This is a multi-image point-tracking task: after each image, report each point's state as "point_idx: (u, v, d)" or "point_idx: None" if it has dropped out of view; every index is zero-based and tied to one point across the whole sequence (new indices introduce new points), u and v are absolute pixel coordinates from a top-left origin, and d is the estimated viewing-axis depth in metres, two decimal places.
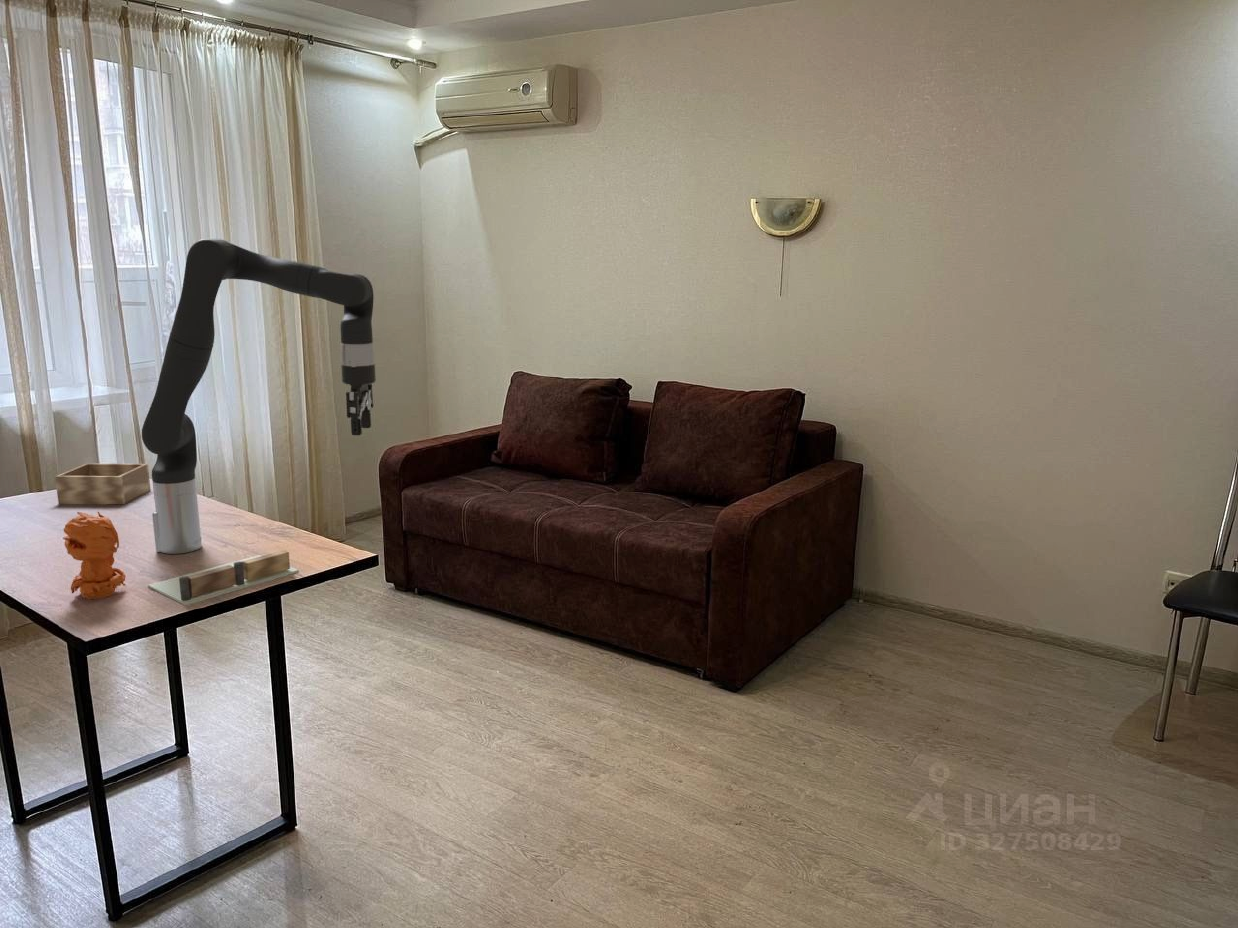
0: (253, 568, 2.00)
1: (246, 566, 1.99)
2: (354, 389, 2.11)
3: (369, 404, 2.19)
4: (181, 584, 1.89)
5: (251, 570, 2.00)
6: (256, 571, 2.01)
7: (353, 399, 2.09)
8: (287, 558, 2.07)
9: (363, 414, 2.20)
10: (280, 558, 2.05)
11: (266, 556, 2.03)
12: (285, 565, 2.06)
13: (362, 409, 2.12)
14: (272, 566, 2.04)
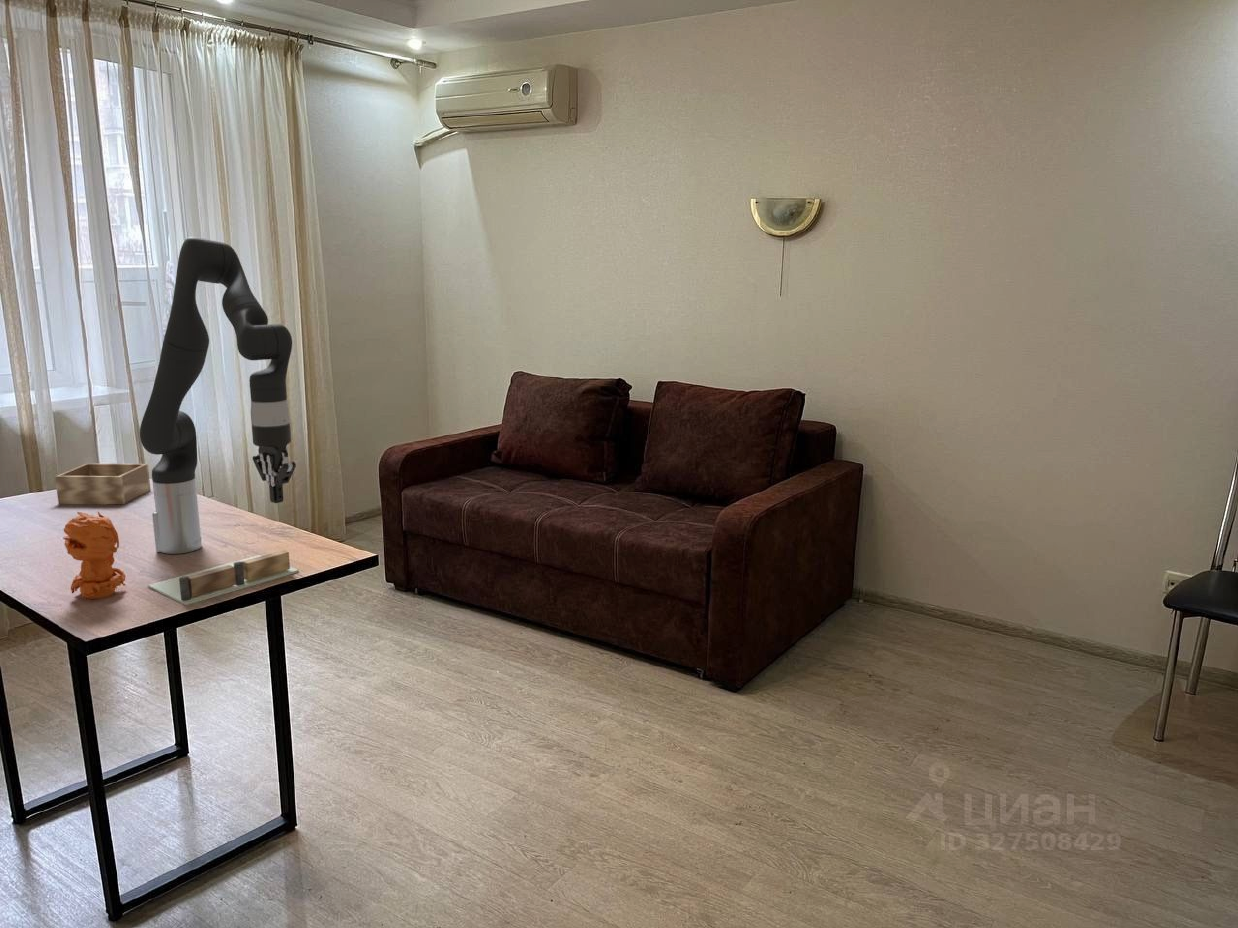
0: (253, 568, 2.00)
1: (246, 566, 1.99)
2: None
3: None
4: (181, 584, 1.89)
5: (251, 570, 2.00)
6: (256, 571, 2.01)
7: None
8: (287, 558, 2.07)
9: None
10: (280, 558, 2.05)
11: (266, 556, 2.03)
12: (285, 565, 2.06)
13: (265, 474, 1.94)
14: (272, 566, 2.04)
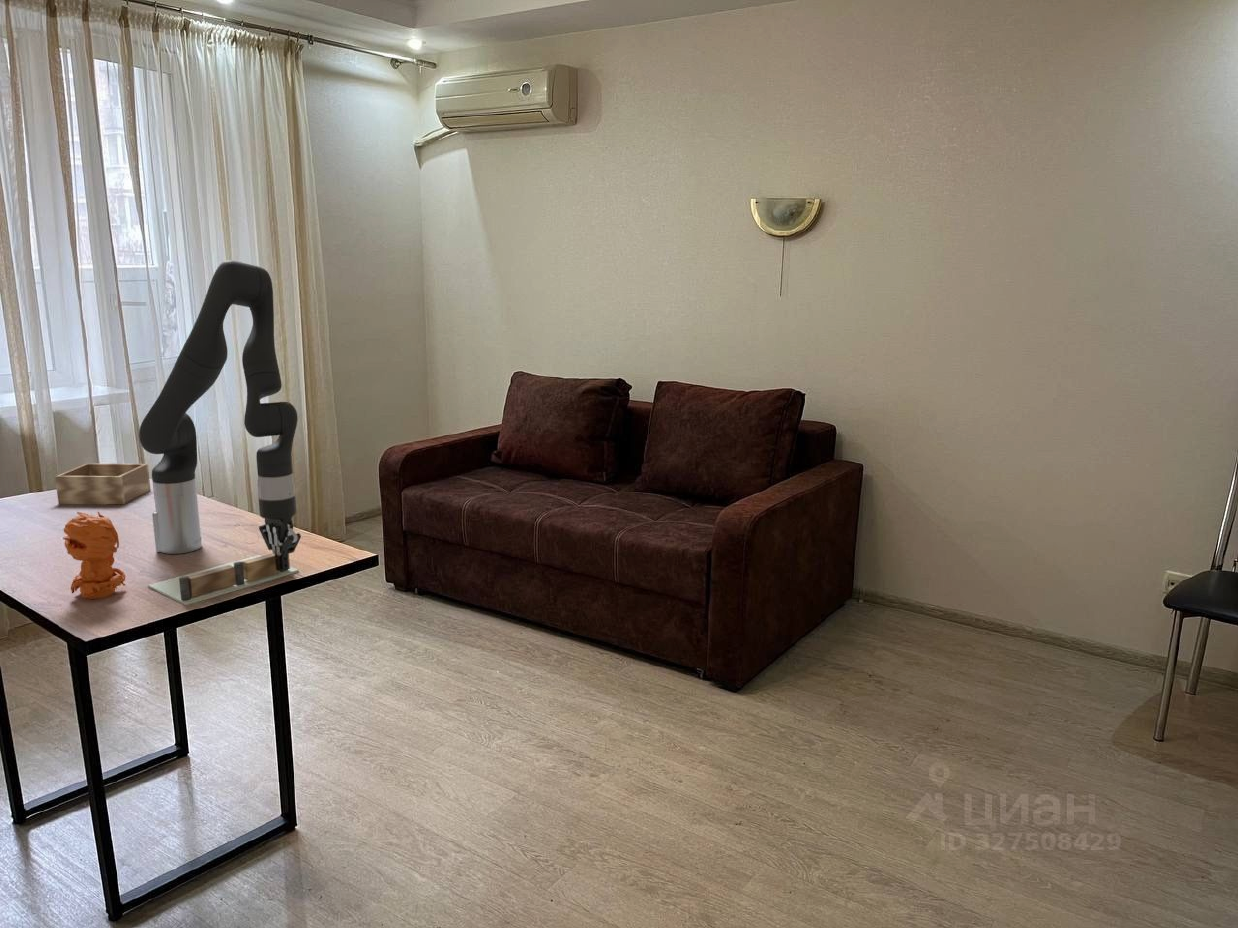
0: (253, 568, 2.00)
1: (246, 566, 1.99)
2: None
3: None
4: (181, 584, 1.89)
5: (251, 570, 2.00)
6: (256, 571, 2.01)
7: None
8: None
9: None
10: None
11: (266, 556, 2.03)
12: None
13: (271, 544, 2.02)
14: (272, 566, 2.04)
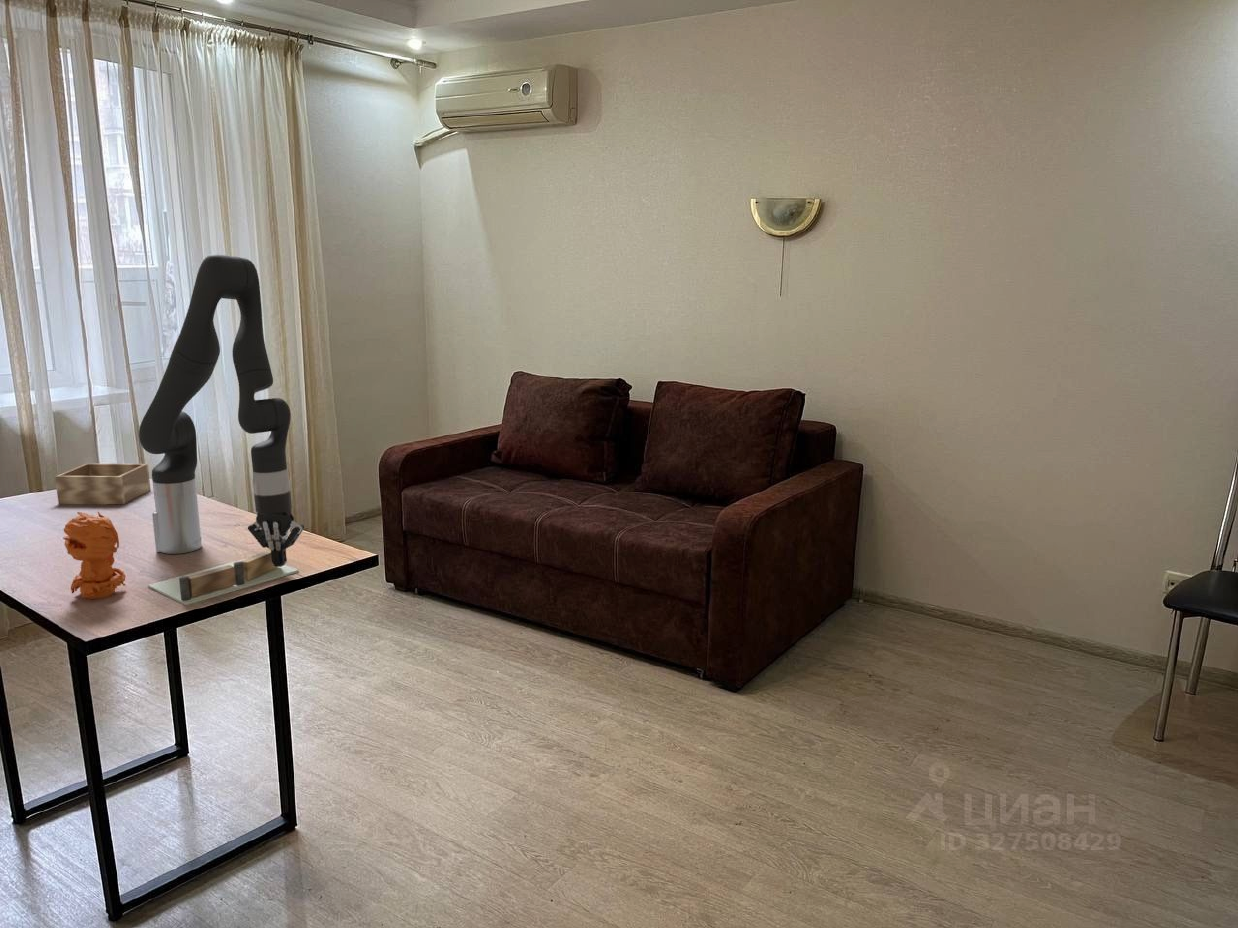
0: (251, 567, 2.01)
1: (245, 565, 2.00)
2: None
3: None
4: (181, 584, 1.89)
5: (250, 569, 2.01)
6: (254, 570, 2.02)
7: None
8: None
9: None
10: None
11: (260, 554, 2.04)
12: None
13: (269, 540, 2.03)
14: (266, 564, 2.05)
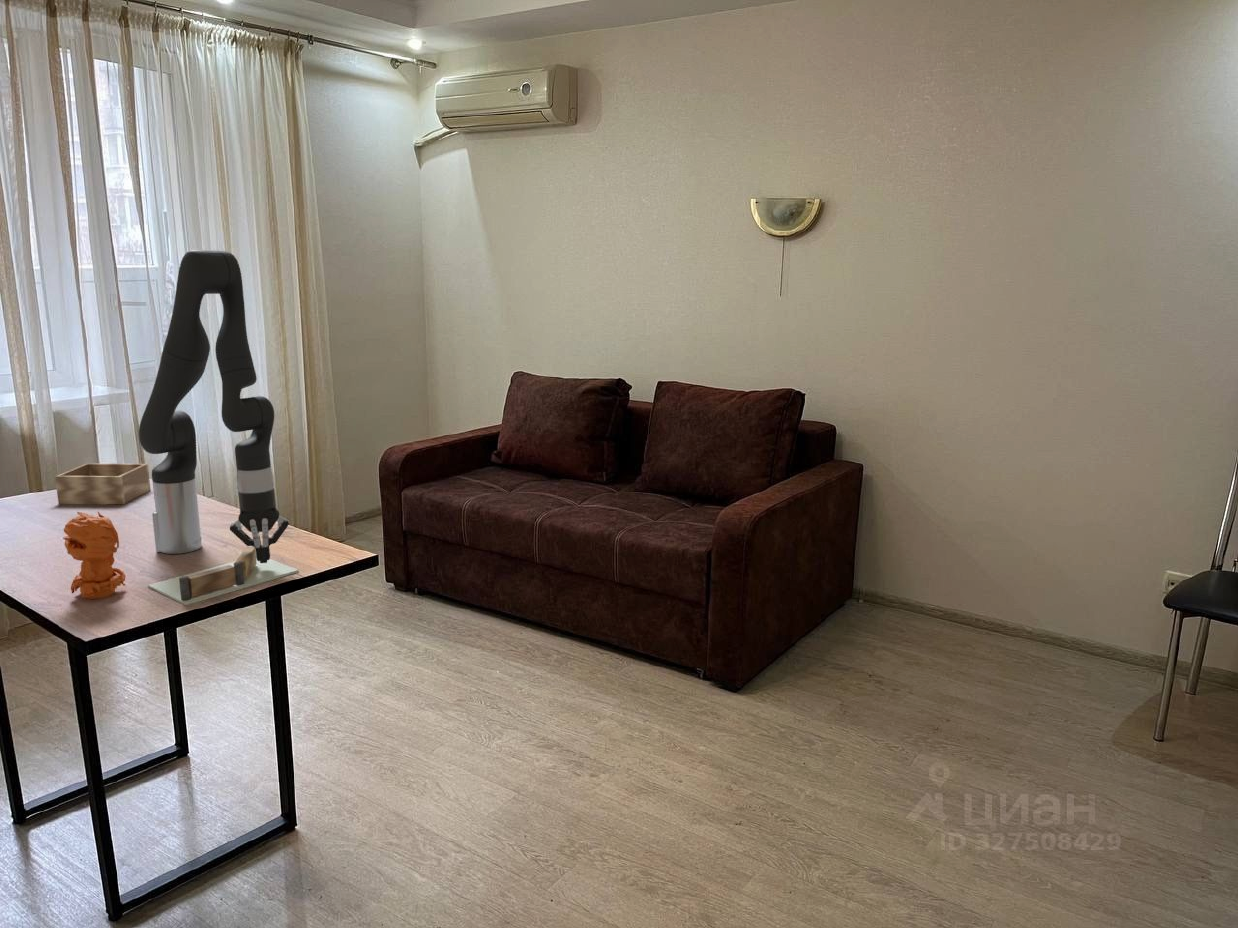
0: (246, 566, 2.01)
1: (243, 565, 2.00)
2: None
3: (262, 534, 2.05)
4: (181, 584, 1.89)
5: (246, 568, 2.01)
6: (247, 569, 2.02)
7: None
8: (255, 553, 2.09)
9: None
10: (253, 554, 2.08)
11: (245, 554, 2.05)
12: (255, 560, 2.09)
13: (255, 538, 2.05)
14: (251, 562, 2.06)
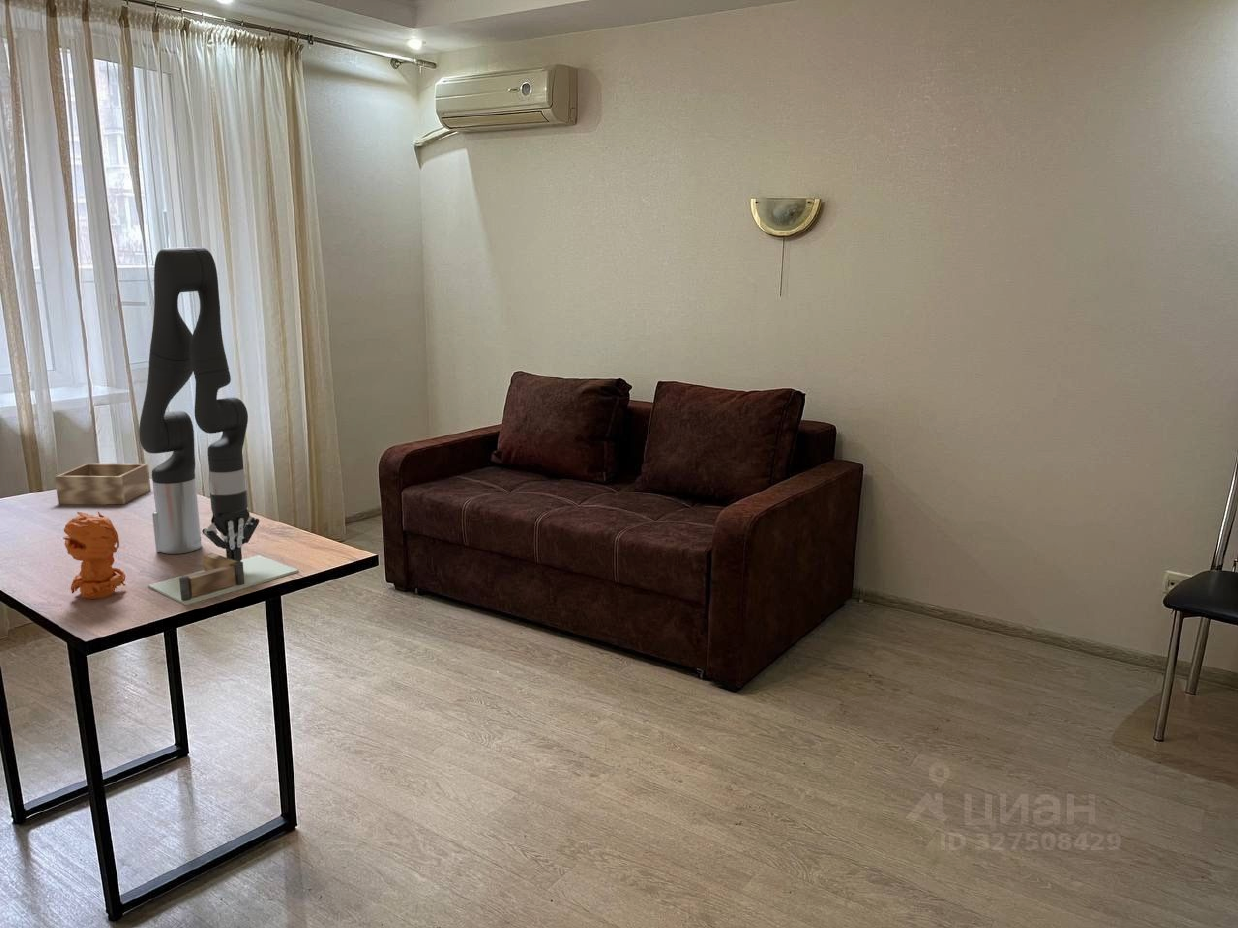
0: None
1: None
2: (214, 517, 2.02)
3: (237, 535, 2.05)
4: (181, 584, 1.89)
5: None
6: None
7: (210, 537, 2.01)
8: None
9: None
10: None
11: (220, 558, 2.02)
12: None
13: (231, 539, 2.04)
14: None
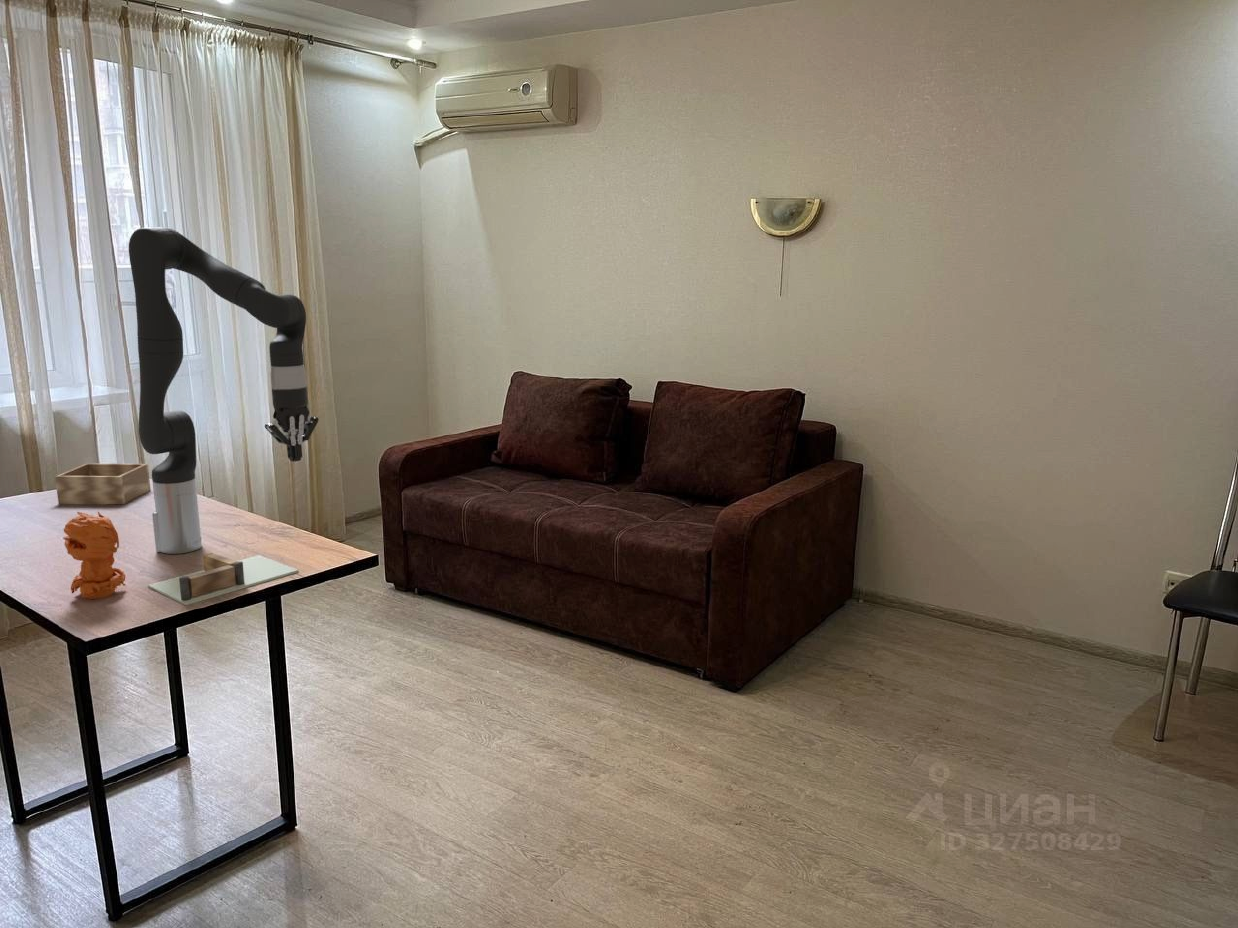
0: None
1: None
2: (276, 412, 2.06)
3: (298, 431, 2.09)
4: (181, 584, 1.89)
5: None
6: None
7: (272, 432, 2.05)
8: None
9: None
10: None
11: (220, 558, 2.02)
12: None
13: (293, 435, 2.08)
14: None
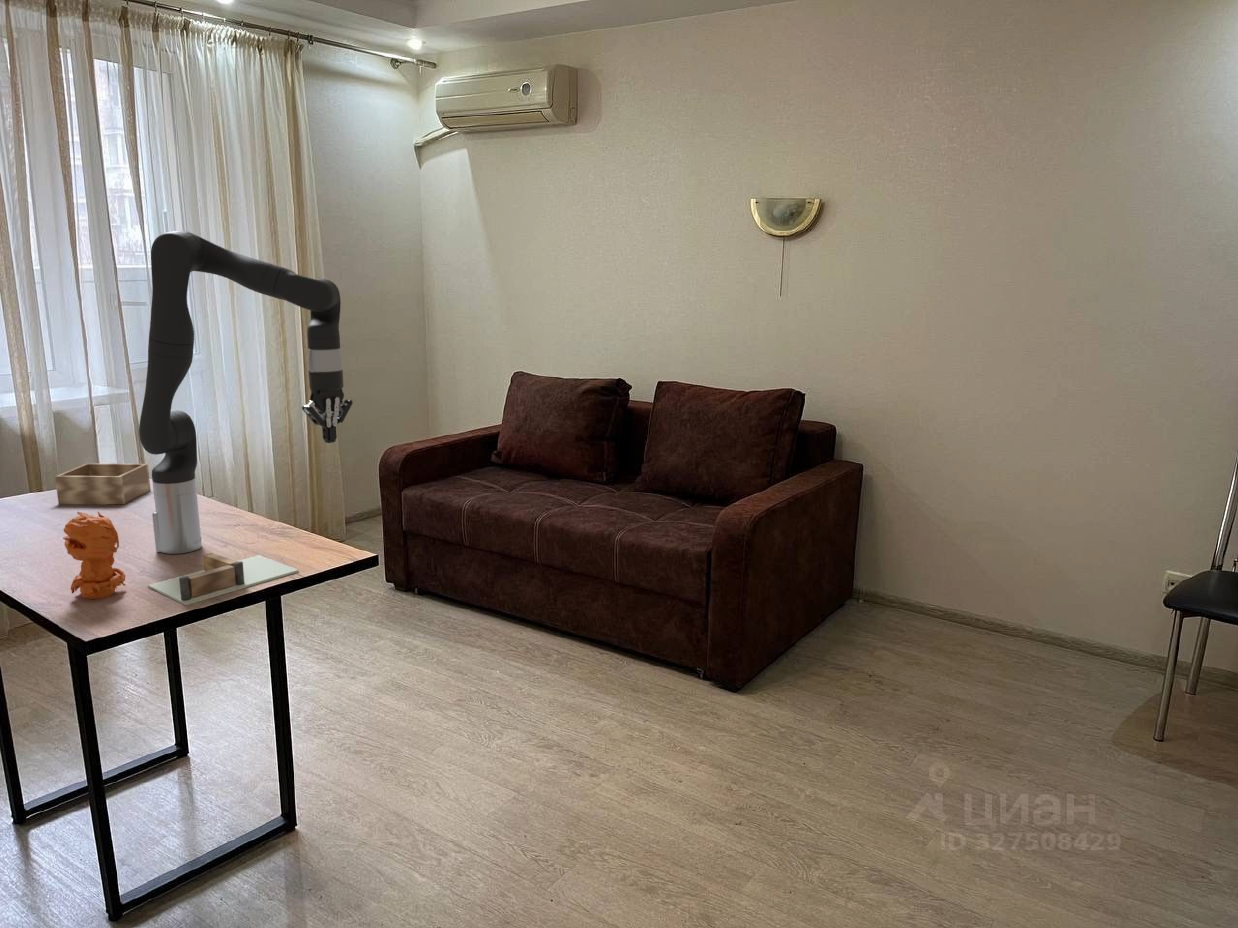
0: None
1: None
2: (313, 394, 2.10)
3: (333, 413, 2.14)
4: (181, 584, 1.89)
5: None
6: None
7: (309, 413, 2.10)
8: None
9: None
10: None
11: (220, 558, 2.02)
12: None
13: (328, 417, 2.13)
14: None
